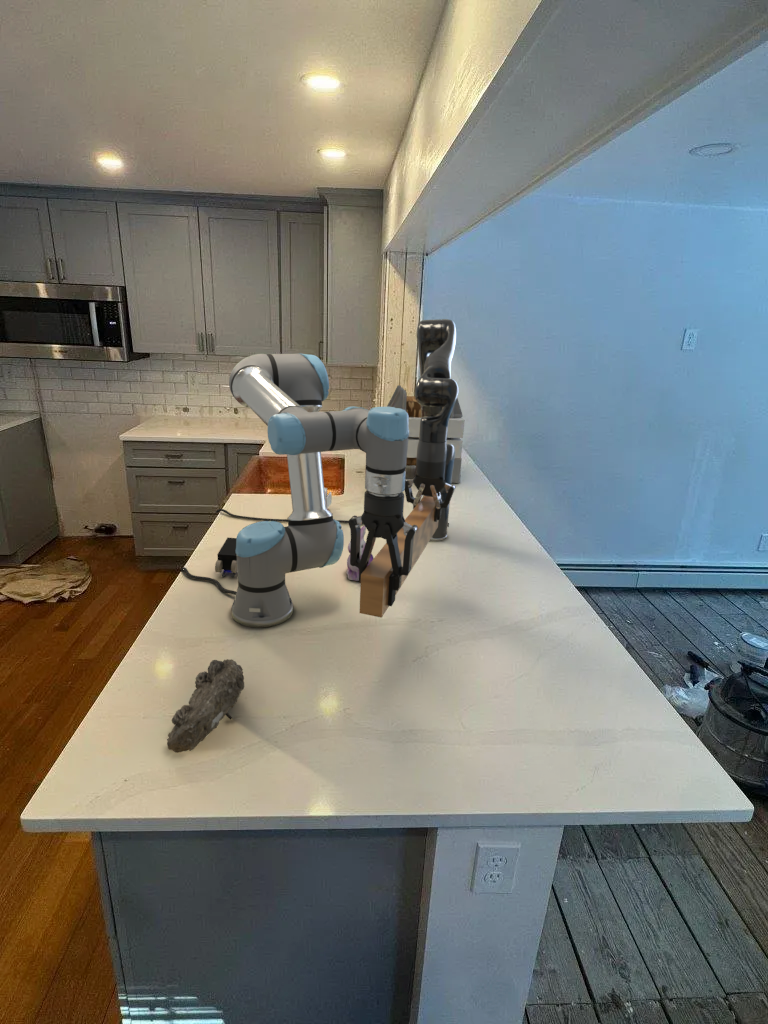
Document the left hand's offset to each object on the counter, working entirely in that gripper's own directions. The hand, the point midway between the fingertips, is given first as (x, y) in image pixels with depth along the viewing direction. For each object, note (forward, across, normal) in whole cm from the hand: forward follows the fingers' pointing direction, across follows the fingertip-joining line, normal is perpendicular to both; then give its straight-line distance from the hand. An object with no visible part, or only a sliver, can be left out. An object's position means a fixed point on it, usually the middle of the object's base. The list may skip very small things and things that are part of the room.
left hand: (378, 600), depth 115 cm
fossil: (+19, -26, -22) cm, 39 cm away
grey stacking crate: (+21, -29, +162) cm, 165 cm away
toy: (+20, -50, +83) cm, 99 cm away
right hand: (-3, 0, +41) cm, 41 cm away
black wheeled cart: (+20, -56, +35) cm, 69 cm away
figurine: (+20, -19, +46) cm, 54 cm away
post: (+1, 0, +21) cm, 21 cm away
